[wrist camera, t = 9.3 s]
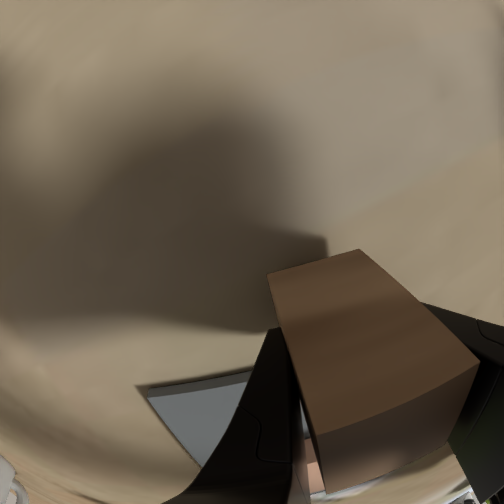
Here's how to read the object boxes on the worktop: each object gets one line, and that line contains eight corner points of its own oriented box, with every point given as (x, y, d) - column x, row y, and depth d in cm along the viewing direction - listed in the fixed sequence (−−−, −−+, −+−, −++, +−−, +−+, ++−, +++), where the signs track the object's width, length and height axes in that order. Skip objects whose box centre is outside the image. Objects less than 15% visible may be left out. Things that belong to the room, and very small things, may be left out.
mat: (402, 456, 17) (405, 461, 17) (241, 501, 17) (241, 507, 17) (438, 308, 12) (445, 314, 11) (149, 388, 12) (146, 397, 11)
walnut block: (364, 324, 10) (444, 444, 5) (284, 349, 10) (326, 494, 5) (359, 248, 9) (480, 361, 4) (266, 274, 9) (316, 435, 4)
